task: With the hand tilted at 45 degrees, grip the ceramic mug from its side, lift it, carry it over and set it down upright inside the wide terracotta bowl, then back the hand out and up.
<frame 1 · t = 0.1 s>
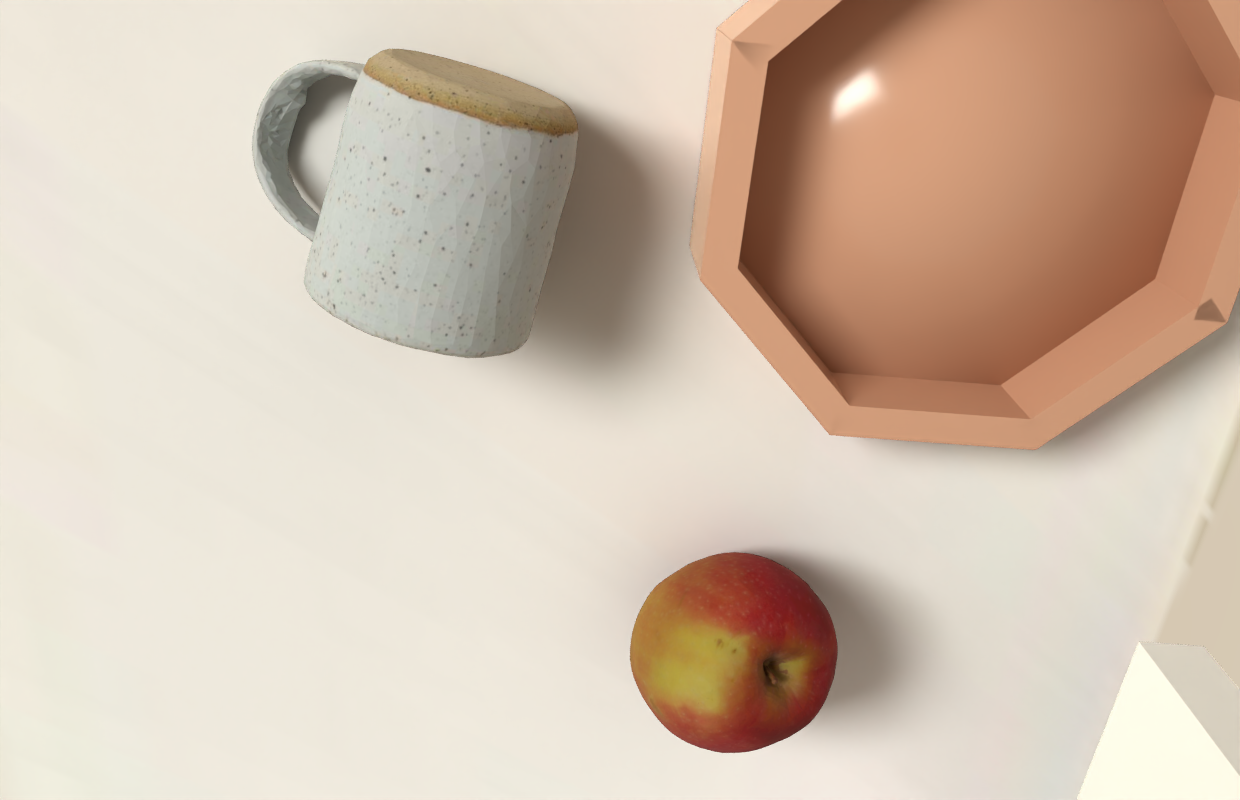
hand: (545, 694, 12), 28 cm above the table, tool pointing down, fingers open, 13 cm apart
apple: (719, 588, 45), on the table
terracotta bowl: (955, 164, 37), on the table
ceramic mug: (421, 171, 37), on the table
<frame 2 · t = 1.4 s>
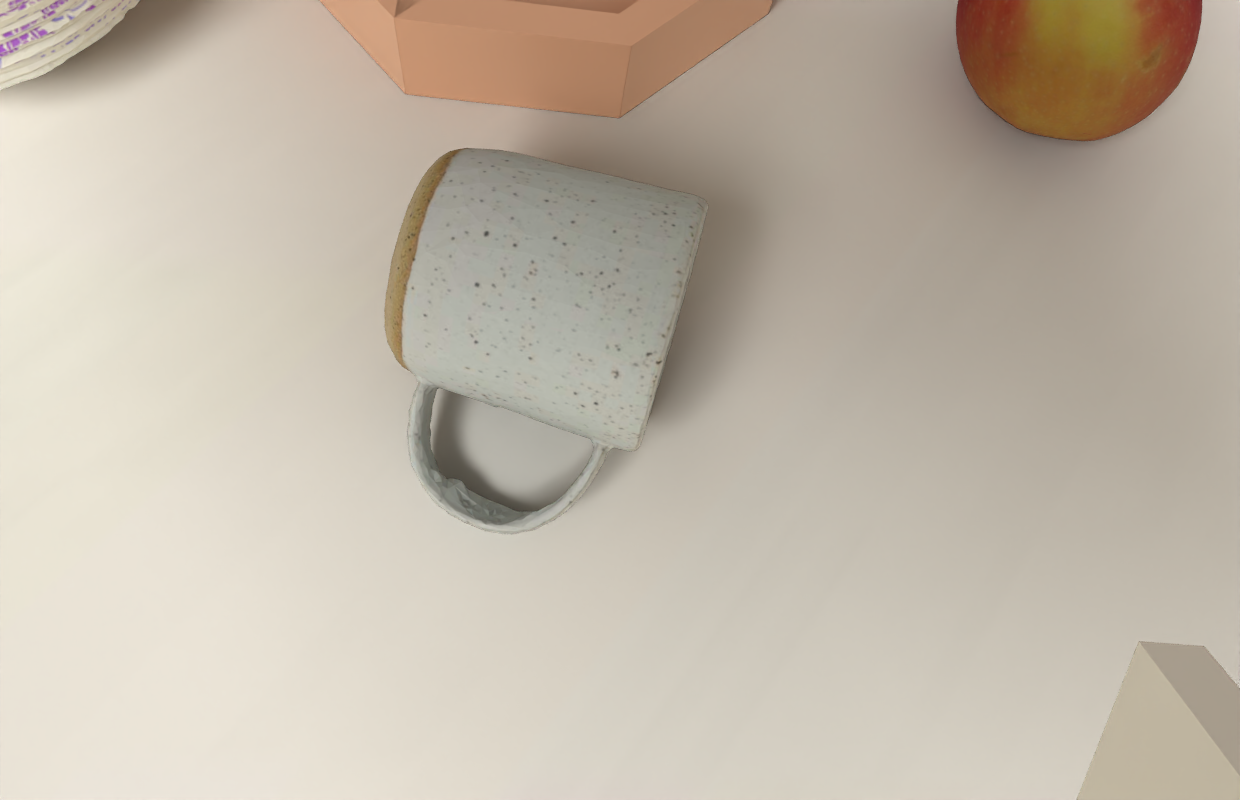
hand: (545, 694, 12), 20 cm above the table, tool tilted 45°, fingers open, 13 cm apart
apple: (1017, 94, 40), on the table
ceramic mug: (541, 381, 34), on the table
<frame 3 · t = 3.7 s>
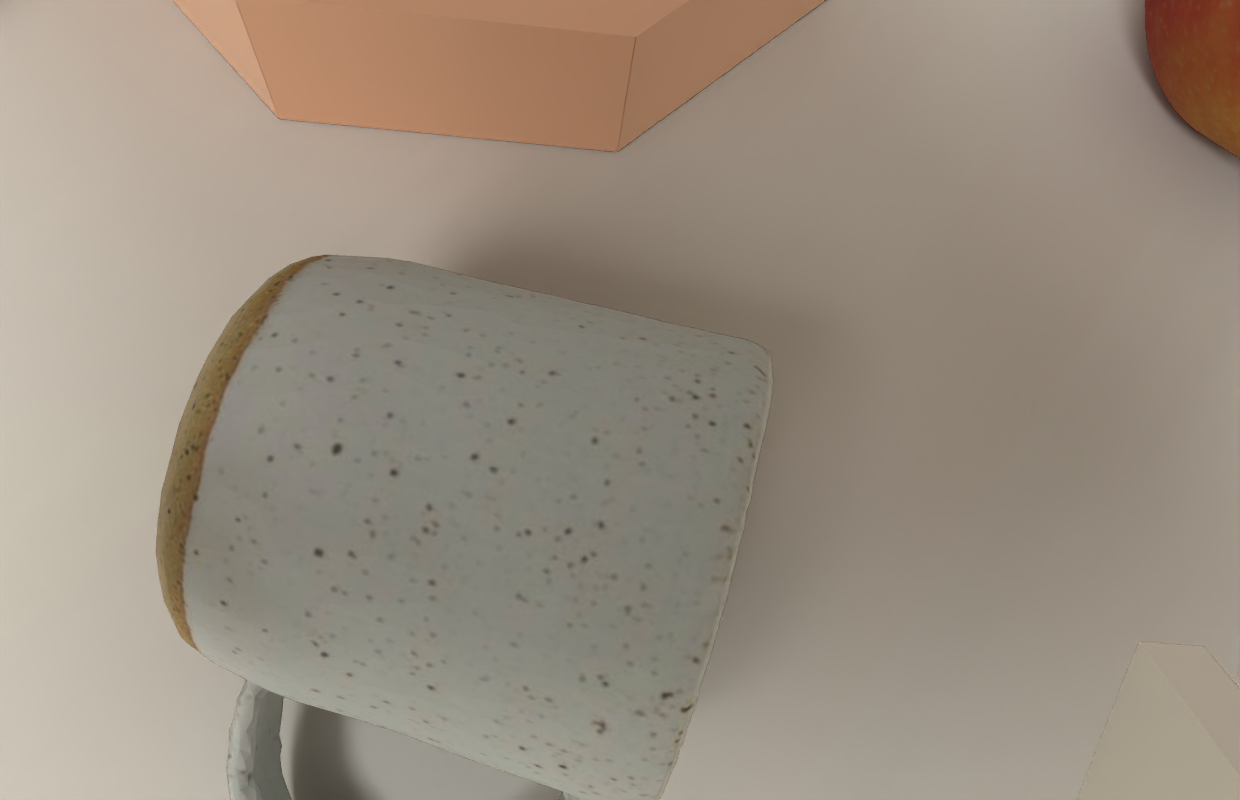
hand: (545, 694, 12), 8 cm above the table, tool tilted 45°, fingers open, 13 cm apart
apple: (1222, 106, 26), on the table
ceramic mug: (482, 626, 20), on the table
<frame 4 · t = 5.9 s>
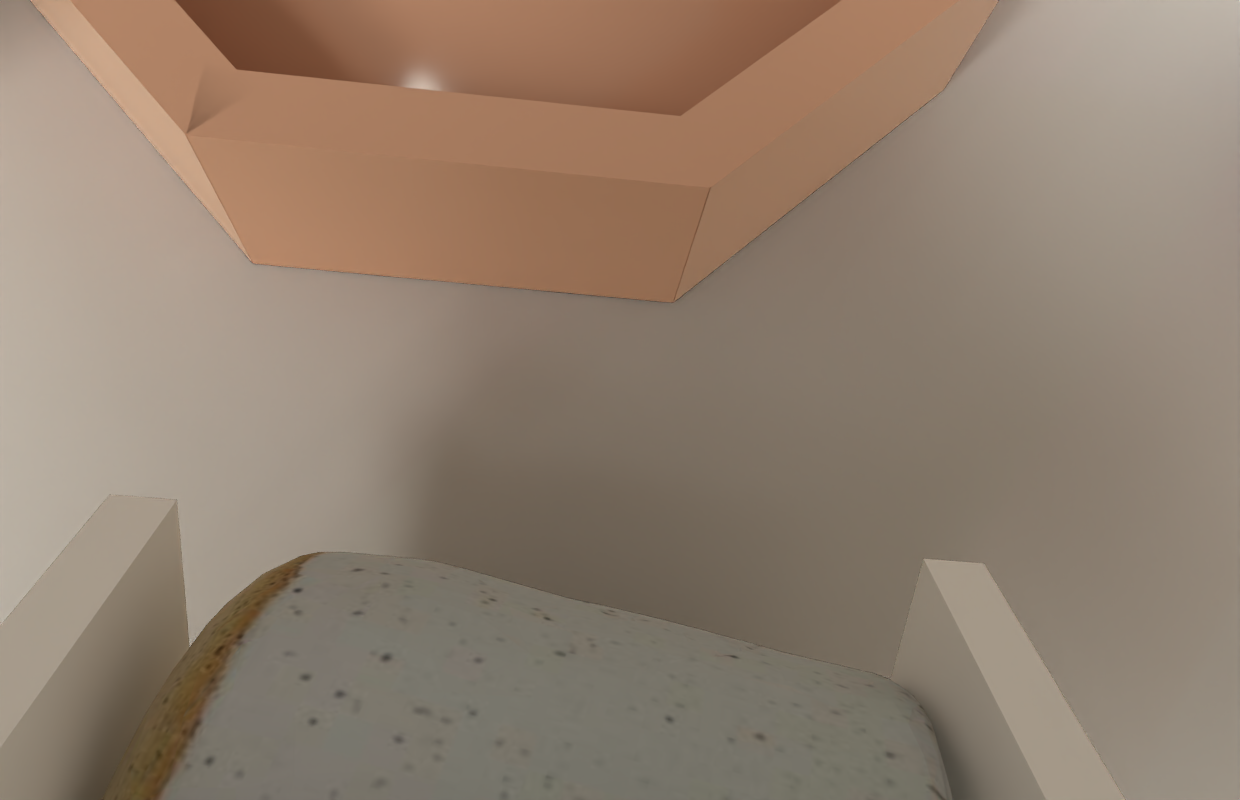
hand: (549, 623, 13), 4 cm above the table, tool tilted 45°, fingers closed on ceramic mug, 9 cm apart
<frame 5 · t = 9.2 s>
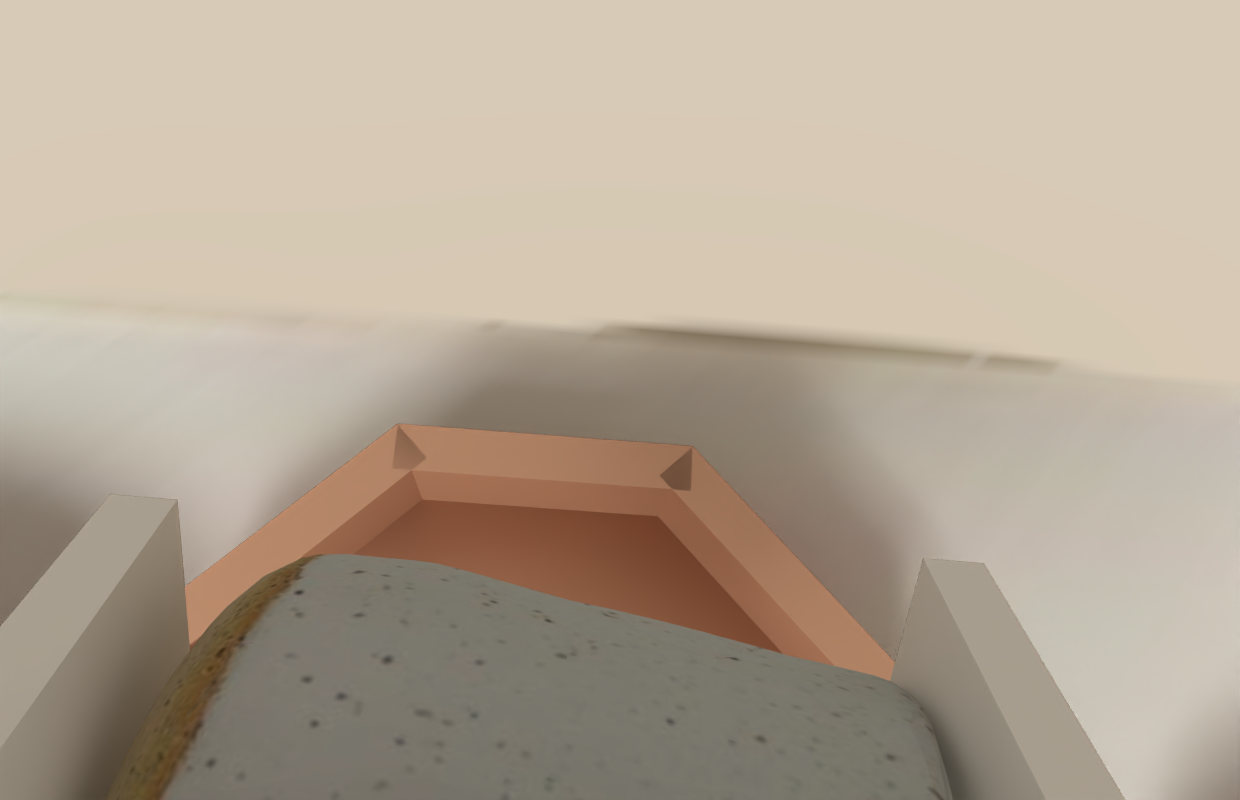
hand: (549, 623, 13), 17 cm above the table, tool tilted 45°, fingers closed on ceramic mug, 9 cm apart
when the fingers open (6 cm above the table, at t = 12.7 s): ceramic mug stays where it is, resting on terracotta bowl.
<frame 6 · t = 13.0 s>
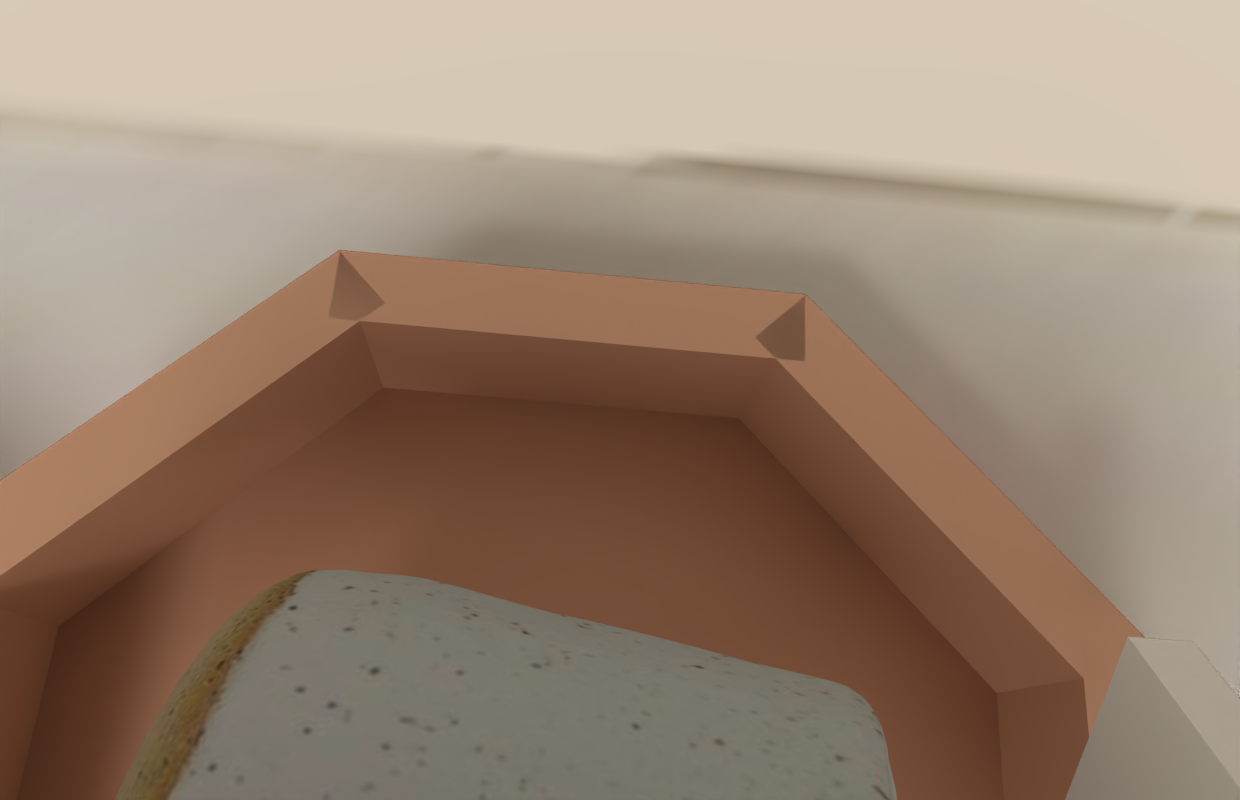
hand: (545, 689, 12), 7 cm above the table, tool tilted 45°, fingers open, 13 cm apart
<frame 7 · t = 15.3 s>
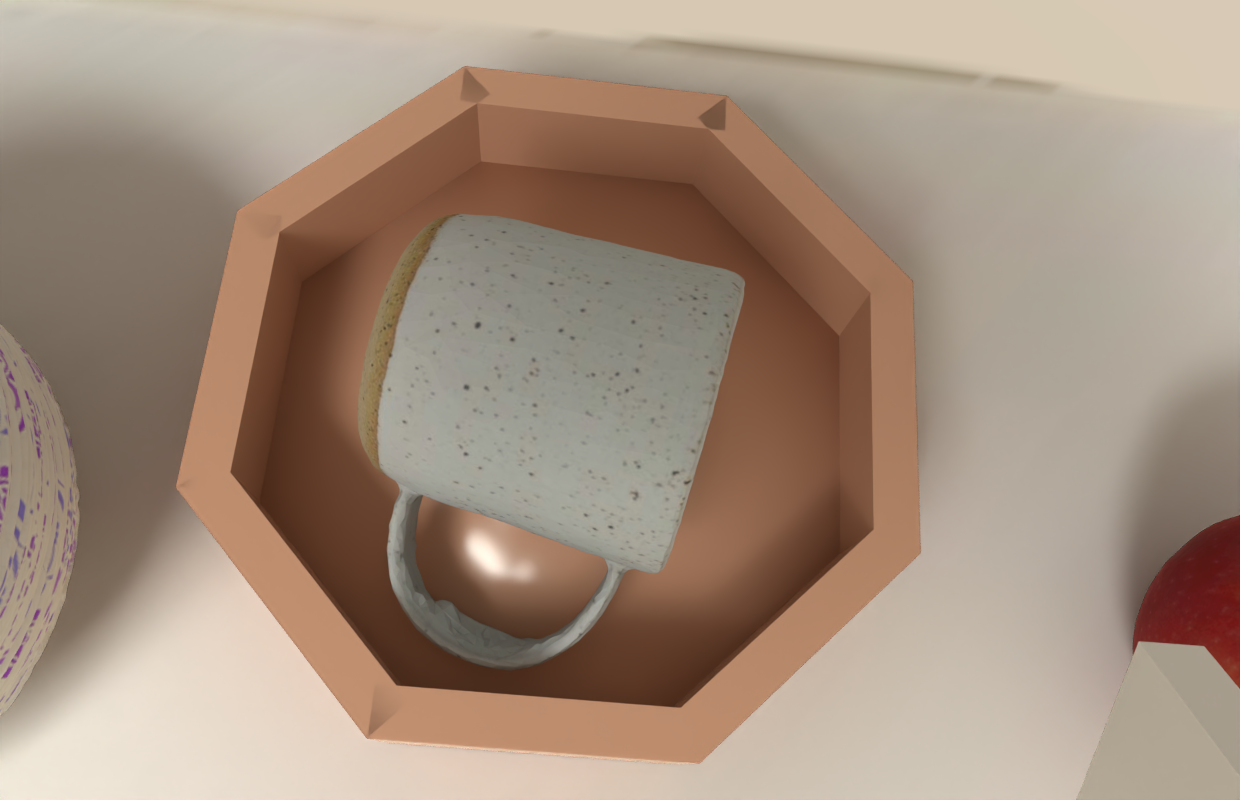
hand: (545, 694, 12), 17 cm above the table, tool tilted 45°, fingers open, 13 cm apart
apple: (1202, 686, 30), on the table
terracotta bowl: (563, 425, 31), on the table
ceramic mug: (547, 477, 29), point 1 cm above the table, touching terracotta bowl
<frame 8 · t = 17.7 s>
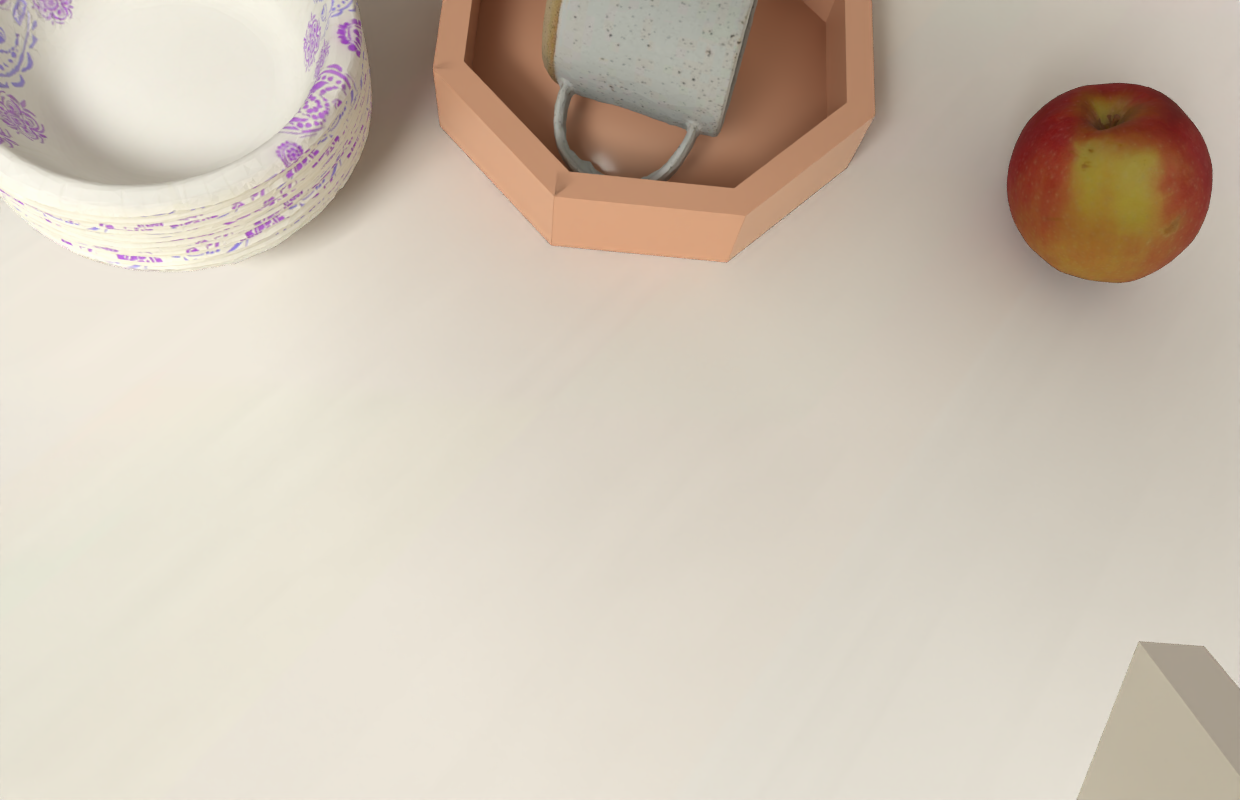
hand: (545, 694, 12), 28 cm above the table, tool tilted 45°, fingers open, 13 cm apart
apple: (1056, 233, 47), on the table
terracotta bowl: (650, 76, 48), on the table
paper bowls: (206, 148, 45), on the table
ceramic mug: (642, 105, 46), point 1 cm above the table, touching terracotta bowl
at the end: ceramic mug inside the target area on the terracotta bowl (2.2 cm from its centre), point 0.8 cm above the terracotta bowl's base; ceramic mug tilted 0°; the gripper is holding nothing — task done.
